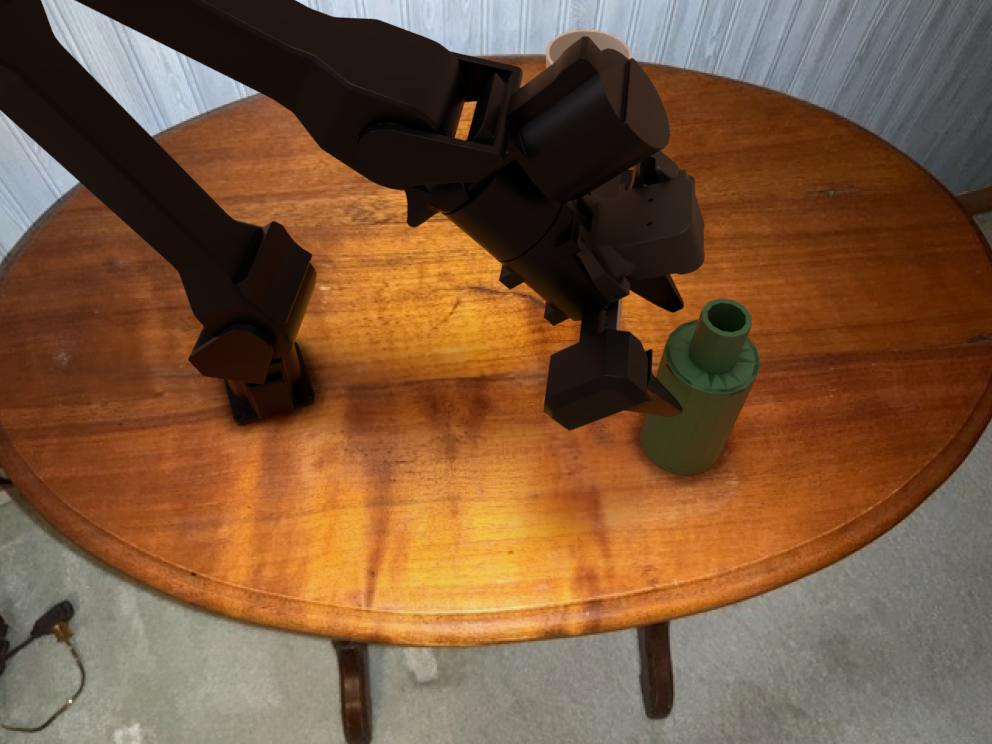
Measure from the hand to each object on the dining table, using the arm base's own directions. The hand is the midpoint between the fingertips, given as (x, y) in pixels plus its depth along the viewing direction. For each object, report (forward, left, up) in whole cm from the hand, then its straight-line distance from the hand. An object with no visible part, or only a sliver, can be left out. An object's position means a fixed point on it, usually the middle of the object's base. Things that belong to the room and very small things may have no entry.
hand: (677, 358), depth 57 cm
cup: (-33, +9, -10) cm, 36 cm away
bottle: (+1, +2, -10) cm, 10 cm away
